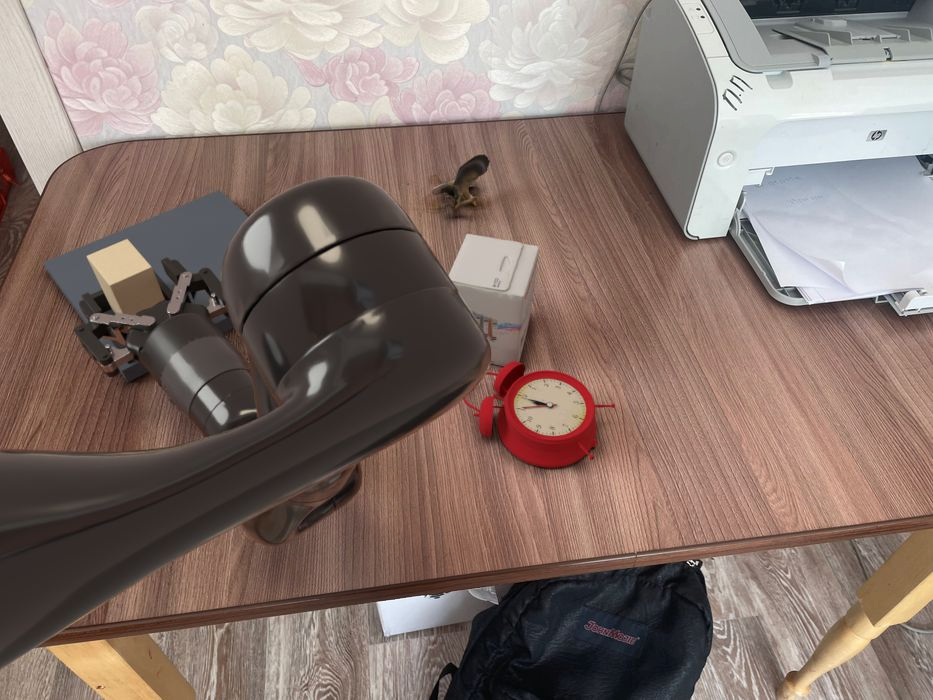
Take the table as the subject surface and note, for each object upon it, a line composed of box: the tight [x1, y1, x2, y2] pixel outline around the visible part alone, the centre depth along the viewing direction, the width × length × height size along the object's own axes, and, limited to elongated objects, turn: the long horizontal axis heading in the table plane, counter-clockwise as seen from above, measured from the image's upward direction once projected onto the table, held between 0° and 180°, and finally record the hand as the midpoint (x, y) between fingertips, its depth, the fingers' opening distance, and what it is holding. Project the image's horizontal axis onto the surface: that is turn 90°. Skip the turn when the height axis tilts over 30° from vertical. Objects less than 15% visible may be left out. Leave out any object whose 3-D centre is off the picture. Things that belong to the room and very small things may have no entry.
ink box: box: [448, 233, 540, 367], centre depth 79 cm, size 9×9×12 cm
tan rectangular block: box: [87, 239, 165, 329], centre depth 78 cm, size 4×6×9 cm
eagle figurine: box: [431, 153, 491, 218], centre depth 99 cm, size 8×7×9 cm
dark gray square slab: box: [42, 189, 249, 383], centre depth 87 cm, size 24×23×4 cm
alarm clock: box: [462, 361, 616, 468], centre depth 74 cm, size 10×6×15 cm
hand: (127, 281), depth 75 cm, fingers open, 8 cm apart
